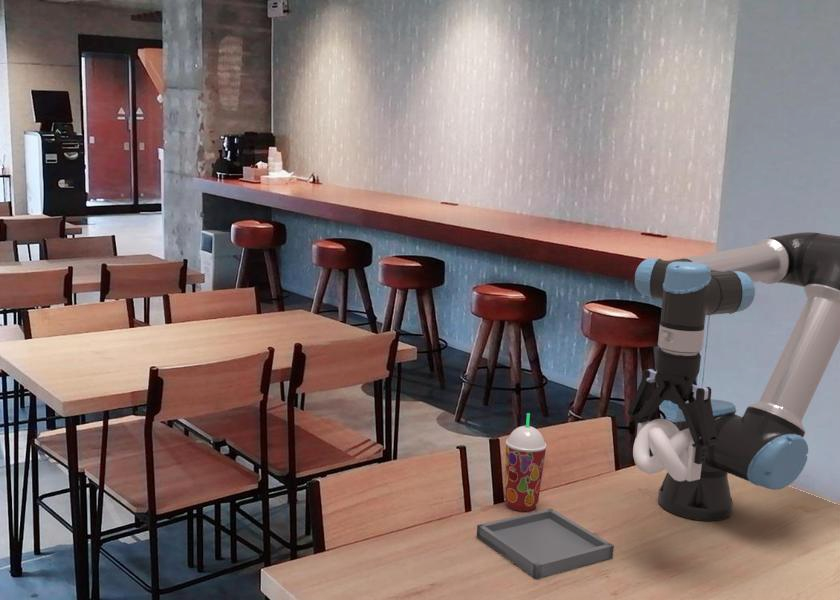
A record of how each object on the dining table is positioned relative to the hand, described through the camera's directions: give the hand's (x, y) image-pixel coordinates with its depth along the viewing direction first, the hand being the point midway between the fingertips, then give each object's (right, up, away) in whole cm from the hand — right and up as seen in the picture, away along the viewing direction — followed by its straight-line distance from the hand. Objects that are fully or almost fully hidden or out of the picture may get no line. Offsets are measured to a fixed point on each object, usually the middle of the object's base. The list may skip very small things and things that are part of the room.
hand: (666, 467), depth 163 cm
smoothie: (-23, -13, +25) cm, 36 cm away
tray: (-21, -16, +7) cm, 27 cm away
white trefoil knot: (+1, -1, 0) cm, 1 cm away
